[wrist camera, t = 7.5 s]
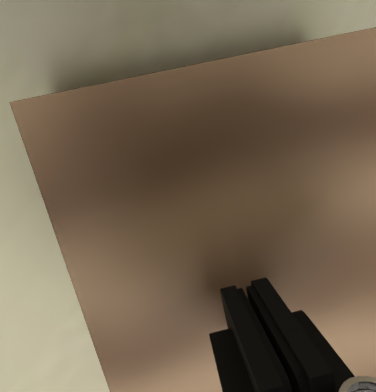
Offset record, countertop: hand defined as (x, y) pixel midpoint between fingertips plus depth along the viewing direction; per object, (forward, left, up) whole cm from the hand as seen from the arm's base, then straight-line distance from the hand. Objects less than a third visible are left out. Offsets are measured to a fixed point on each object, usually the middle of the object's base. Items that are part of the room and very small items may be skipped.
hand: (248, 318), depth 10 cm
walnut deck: (0, 0, -5) cm, 5 cm away
